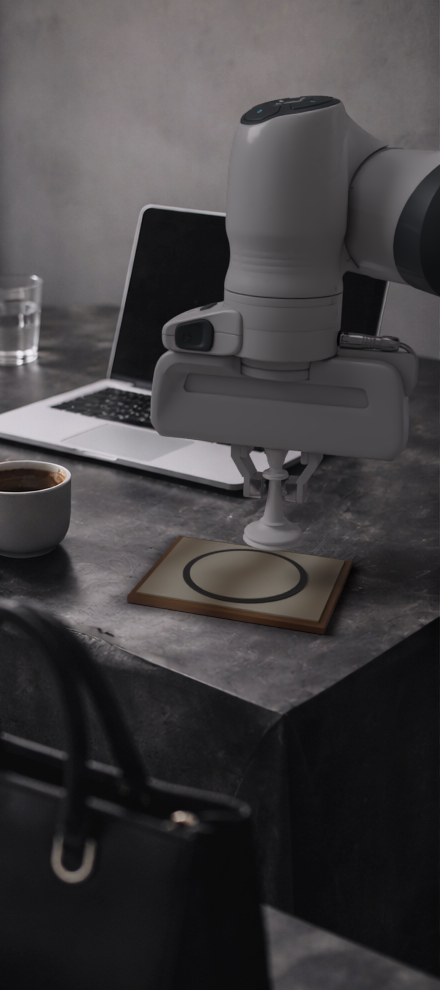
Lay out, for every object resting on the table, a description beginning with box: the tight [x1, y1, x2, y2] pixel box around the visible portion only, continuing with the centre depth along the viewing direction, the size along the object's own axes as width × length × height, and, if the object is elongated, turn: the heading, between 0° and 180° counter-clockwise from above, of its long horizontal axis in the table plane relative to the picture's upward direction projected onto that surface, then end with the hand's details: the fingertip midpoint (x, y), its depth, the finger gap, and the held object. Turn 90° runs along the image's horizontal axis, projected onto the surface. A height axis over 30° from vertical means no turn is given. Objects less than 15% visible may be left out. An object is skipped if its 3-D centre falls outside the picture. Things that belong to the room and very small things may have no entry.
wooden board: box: [126, 535, 353, 635], centre depth 82 cm, size 16×13×1 cm
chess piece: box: [242, 447, 304, 551], centre depth 78 cm, size 5×5×10 cm
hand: (274, 498), depth 79 cm, fingers closed on chess piece
